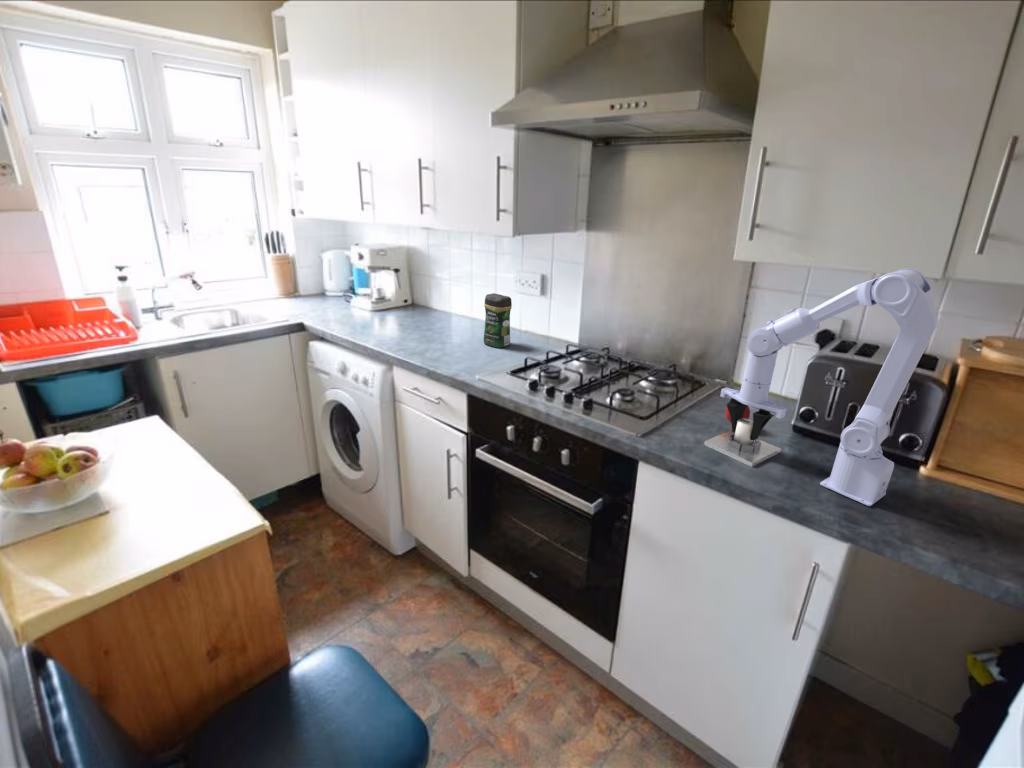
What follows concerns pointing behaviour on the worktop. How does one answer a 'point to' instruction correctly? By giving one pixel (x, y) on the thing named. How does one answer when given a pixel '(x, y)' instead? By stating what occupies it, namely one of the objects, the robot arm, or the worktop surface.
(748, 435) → the knob
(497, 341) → the coffee jar
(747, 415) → the onion
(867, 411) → the robot arm
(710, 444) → the hub plate
